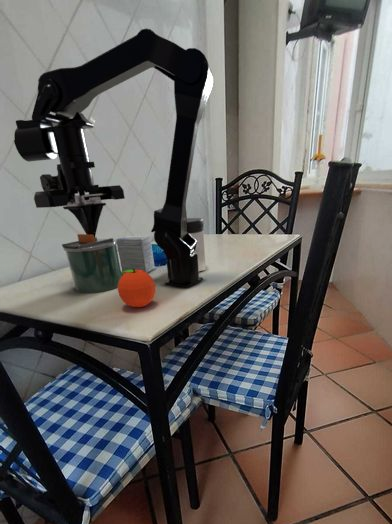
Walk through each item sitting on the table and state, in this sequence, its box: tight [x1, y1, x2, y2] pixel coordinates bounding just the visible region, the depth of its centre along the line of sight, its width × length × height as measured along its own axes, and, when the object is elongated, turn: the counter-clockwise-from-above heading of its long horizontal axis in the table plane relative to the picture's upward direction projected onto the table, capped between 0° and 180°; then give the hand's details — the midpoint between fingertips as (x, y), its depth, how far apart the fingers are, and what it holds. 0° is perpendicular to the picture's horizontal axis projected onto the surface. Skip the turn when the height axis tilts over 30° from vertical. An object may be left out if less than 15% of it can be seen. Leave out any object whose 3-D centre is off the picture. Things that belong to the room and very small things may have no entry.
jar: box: [187, 217, 207, 273], centre depth 79 cm, size 9×8×12 cm
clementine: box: [114, 269, 156, 308], centre depth 58 cm, size 8×7×7 cm
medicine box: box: [115, 235, 156, 273], centre depth 82 cm, size 8×4×9 cm, turn 66°
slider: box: [62, 233, 95, 249], centre depth 67 cm, size 5×5×2 cm
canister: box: [61, 236, 123, 294], centre depth 72 cm, size 12×12×10 cm
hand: (91, 238), depth 70 cm, fingers closed
